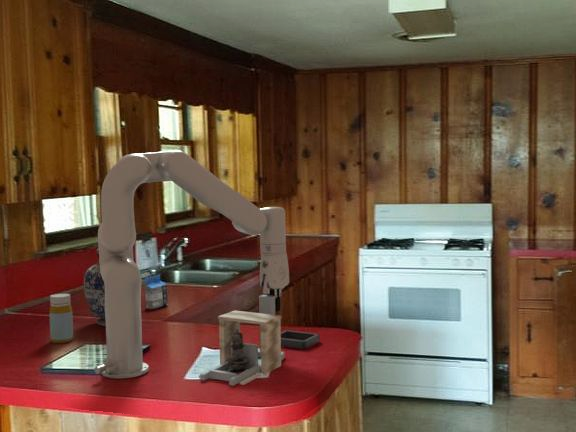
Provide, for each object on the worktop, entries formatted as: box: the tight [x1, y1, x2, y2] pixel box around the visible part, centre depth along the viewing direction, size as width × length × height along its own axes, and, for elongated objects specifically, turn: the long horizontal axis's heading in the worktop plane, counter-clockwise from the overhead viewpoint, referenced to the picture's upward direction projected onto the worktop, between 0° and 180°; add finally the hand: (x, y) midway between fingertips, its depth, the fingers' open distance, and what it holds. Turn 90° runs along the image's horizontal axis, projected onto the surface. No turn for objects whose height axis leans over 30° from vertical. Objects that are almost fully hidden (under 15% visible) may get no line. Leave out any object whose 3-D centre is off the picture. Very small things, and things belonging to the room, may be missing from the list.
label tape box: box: [144, 274, 169, 310], centre depth 271 cm, size 9×4×12 cm, turn 148°
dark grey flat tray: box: [281, 329, 321, 350], centre depth 214 cm, size 10×12×2 cm
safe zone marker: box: [198, 372, 263, 386], centre depth 183 cm, size 9×14×1 cm, turn 61°
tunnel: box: [217, 310, 282, 375], centre depth 191 cm, size 8×16×14 cm, turn 61°
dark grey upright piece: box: [227, 329, 249, 375], centre depth 185 cm, size 6×6×12 cm
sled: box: [199, 294, 286, 387], centre depth 188 cm, size 28×10×18 cm, turn 151°
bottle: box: [48, 293, 74, 344], centre depth 222 cm, size 7×7×15 cm
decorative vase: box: [83, 247, 106, 327], centre depth 245 cm, size 21×19×28 cm
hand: (274, 310), depth 202 cm, fingers closed
